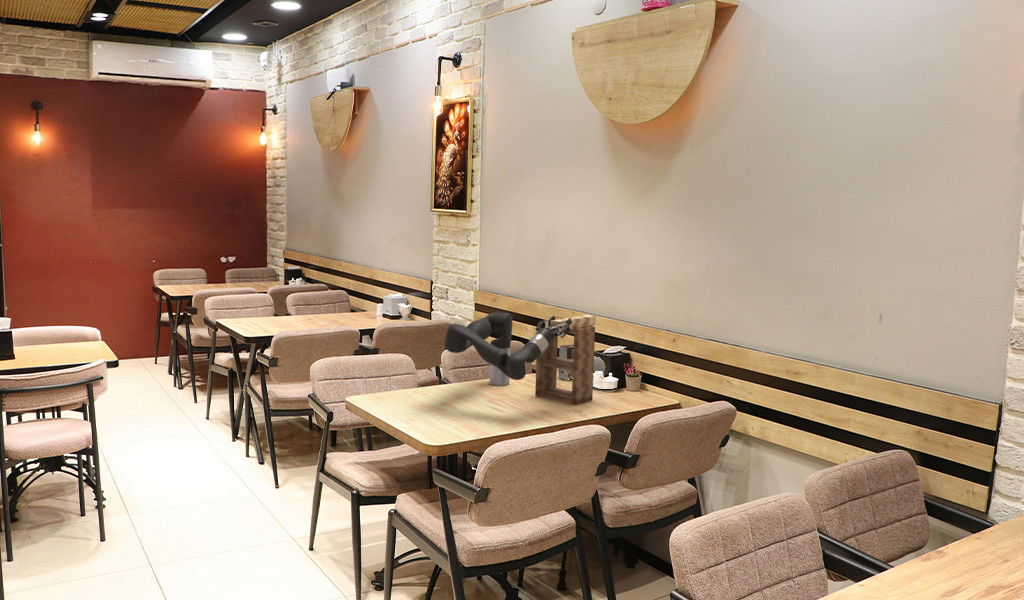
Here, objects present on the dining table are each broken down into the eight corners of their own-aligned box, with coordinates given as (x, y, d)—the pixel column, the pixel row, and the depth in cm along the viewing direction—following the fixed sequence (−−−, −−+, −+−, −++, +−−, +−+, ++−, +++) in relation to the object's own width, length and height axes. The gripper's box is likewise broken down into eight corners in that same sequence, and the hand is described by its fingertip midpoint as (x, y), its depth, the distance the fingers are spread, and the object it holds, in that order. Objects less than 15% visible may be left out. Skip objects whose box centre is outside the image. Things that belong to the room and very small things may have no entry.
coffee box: (567, 381, 376) (568, 347, 374) (557, 378, 381) (559, 345, 379) (580, 378, 382) (582, 345, 380) (571, 376, 387) (572, 343, 385)
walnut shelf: (575, 405, 332) (578, 327, 328) (535, 395, 346) (537, 321, 342) (592, 400, 341) (595, 324, 337) (552, 391, 355) (554, 318, 351)
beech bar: (557, 331, 322) (557, 321, 322) (549, 330, 325) (550, 320, 325) (595, 325, 342) (595, 315, 341) (587, 323, 344) (587, 314, 344)
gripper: (551, 336, 312) (573, 313, 321) (524, 332, 321) (546, 309, 330) (556, 351, 315) (578, 328, 325) (529, 346, 325) (551, 323, 334)
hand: (562, 318), depth 327 cm, fingers open, 8 cm apart
